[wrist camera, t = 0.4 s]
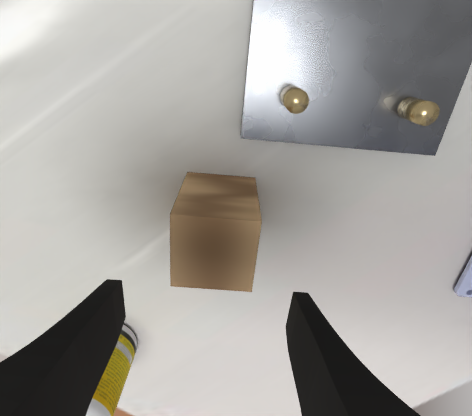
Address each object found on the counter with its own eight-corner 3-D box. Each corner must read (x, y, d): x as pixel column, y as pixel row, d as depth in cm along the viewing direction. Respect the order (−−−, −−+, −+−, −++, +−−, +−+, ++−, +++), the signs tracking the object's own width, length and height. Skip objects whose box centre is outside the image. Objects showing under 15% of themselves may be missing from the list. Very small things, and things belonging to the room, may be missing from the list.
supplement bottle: (85, 307, 26) (7, 439, 17) (147, 328, 27) (103, 462, 18) (69, 347, 28) (-7, 482, 19) (127, 365, 29) (80, 501, 20)
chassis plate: (522, -100, 14) (583, -132, 12) (427, 151, 20) (455, 166, 17) (265, -132, 14) (272, -173, 11) (240, 135, 19) (241, 147, 17)
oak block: (255, 177, 21) (261, 221, 15) (247, 235, 23) (251, 291, 17) (187, 171, 20) (170, 214, 15) (186, 230, 22) (170, 286, 17)
